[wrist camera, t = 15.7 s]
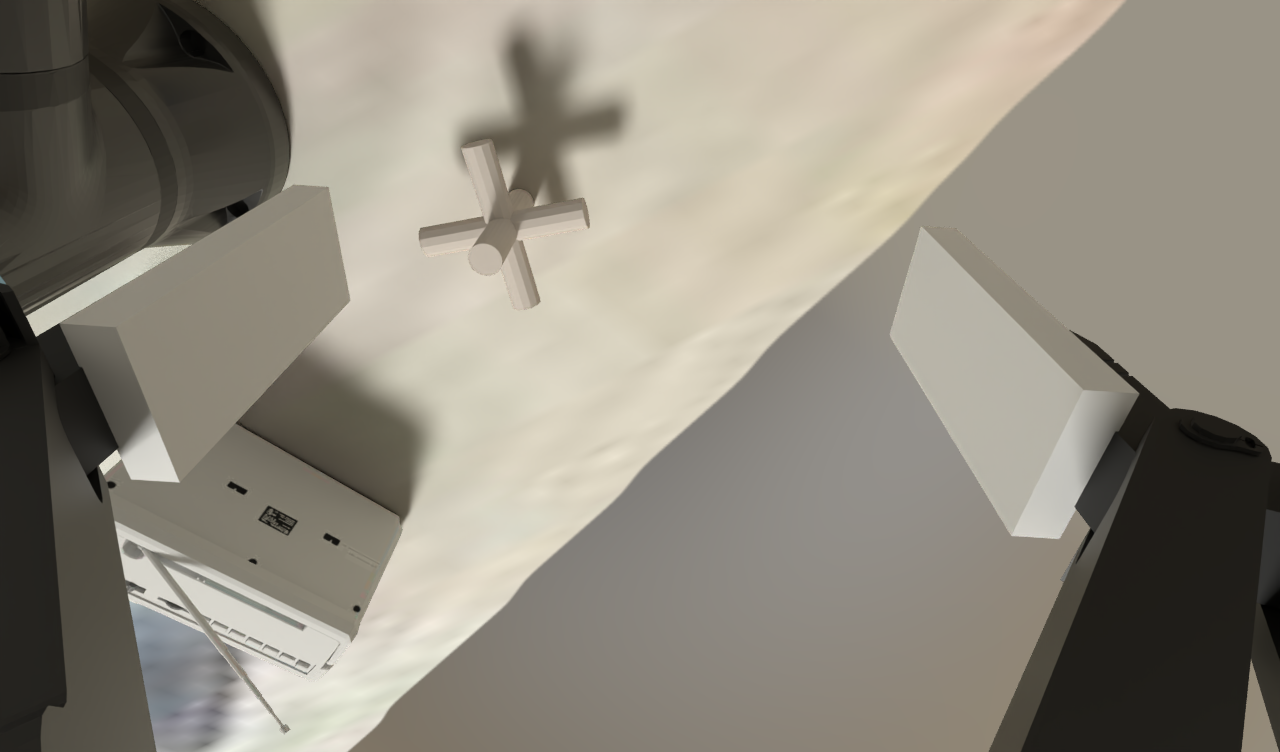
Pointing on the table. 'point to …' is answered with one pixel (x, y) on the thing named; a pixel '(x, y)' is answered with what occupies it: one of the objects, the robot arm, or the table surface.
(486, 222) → the pipe connector
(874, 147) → the table surface
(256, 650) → the stereo radio cassette player
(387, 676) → the table surface
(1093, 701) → the robot arm
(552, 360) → the table surface
